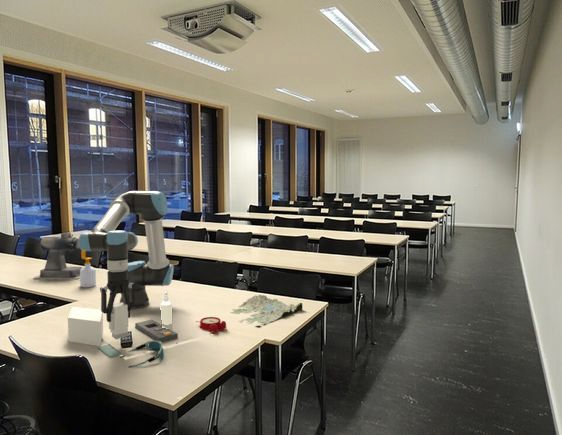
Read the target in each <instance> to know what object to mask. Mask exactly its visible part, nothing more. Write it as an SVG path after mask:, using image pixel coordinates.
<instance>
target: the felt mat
mask: <svg viewBox="0 0 562 435" xmlns="http://www.w3.org/2000/svg"><path fill="white" fill-rule="evenodd" d="M97 347H98V349H99V350H100V351H101V352H102V353H104V354H105V356H107V357H108V358H113V357H117V356H121V355H123V353H122V352H120V351H119V350H118V349H117V348H115V347H114V346H112V344H109V343H108V344H104V345H101V346H97Z"/></svg>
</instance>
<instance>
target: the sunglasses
mask: <svg viewBox="0 0 562 435" xmlns="http://www.w3.org/2000/svg"><path fill="white" fill-rule="evenodd" d="M163 343H164V342H161V341H156V340H150V341H149V340H148V341H146V343H143V344H140V345H138V346H136V347H134V348H132V349H130V350H128V351H127V353H130V352H134V351H137V350H142V349H144V348H147V349H148V348H150V351H153V352H157V354H155V355H154V356H152V357H151V358H148V359H146V360H144V361H141V362H139V363H136V364H132V365H129V366H128V368H134V367H139V366H141V365H145V364H147V363H151V362H154V361H156V360H158V361H161V362H162V360H163V359H164V356H165V355H164V354H165V352H164V347H163ZM124 357H125V355H124V354H122V356H121V355H120V359H121V358H124Z"/></svg>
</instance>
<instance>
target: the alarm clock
mask: <svg viewBox="0 0 562 435" xmlns="http://www.w3.org/2000/svg"><path fill="white" fill-rule="evenodd" d="M195 322H196V323H199V329H200V330H205V331H208V332H210V333H212V334H216V333H217V332H218V331H225V330H226V329H227V323H226V321H224V320H222V321H221V318H219V317H216V316H207V317H203V318H201V319H200V321H199V320H198V321H197V320H196V321H195Z"/></svg>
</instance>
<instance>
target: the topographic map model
mask: <svg viewBox="0 0 562 435" xmlns="http://www.w3.org/2000/svg"><path fill="white" fill-rule="evenodd" d="M245 308H246V309H245ZM231 309H232V311H230V312H229V313H230V314H234V315H240V314H242V313H243V314H250V313H253V314H250V315H249V317H246V318H245V319H244V318H243V319H241V320H238V323H243V322H244V321H246V324H247V325H251V324H252V325H253V323H255V322H256V321H257V322H256V323H257V324H260V325H254V327H255V328H261V327H263V326H267V325H269V324H271V323H273V322H276V321H278V320H280V319H283V318H286V317H288V316H291V315H294V314H297V313H298V311H299V312H301V311H303V303H302V302H299V303H297V304H295V305H294V303H293V304H292V303H290V304H289V305H287V304H286V303H284V302H283V301H281V300H279V299H277V298H274V299H271V298H270V297H269V298H268V297H267V295H264V294H258V295H253V296H252V297H251V298H250V297H249V298H248V299H247V300H246V301H244V302H243V303H242V304H241V305H239V306H238V308H231ZM293 313H294V314H293Z"/></svg>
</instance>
